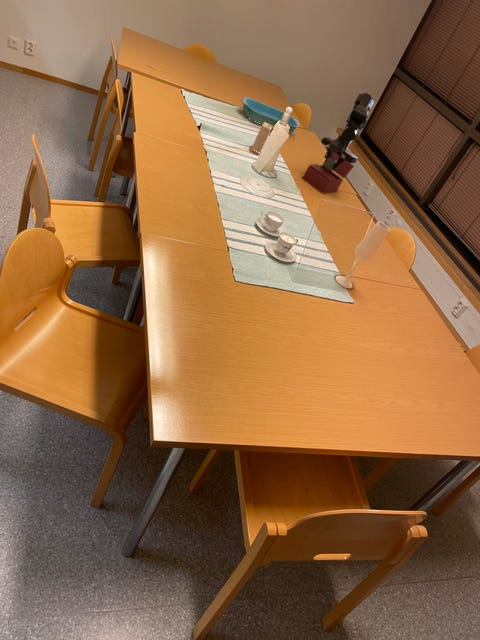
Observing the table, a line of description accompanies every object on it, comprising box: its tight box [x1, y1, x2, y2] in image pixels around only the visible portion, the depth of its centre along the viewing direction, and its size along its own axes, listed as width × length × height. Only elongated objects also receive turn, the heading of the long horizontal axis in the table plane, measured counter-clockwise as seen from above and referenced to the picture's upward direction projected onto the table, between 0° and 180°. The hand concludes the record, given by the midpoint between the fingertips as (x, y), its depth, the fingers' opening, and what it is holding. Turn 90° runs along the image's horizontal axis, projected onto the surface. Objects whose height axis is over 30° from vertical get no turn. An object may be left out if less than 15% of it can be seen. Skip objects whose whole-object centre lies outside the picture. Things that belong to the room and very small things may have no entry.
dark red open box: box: [302, 163, 344, 194], centre depth 232 cm, size 15×13×7 cm
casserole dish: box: [241, 97, 300, 135], centre depth 273 cm, size 37×22×7 cm, turn 103°
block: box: [324, 158, 337, 172], centre depth 228 cm, size 4×4×4 cm
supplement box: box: [250, 122, 273, 155], centre depth 227 cm, size 8×5×13 cm, turn 168°
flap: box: [331, 153, 355, 179], centre depth 234 cm, size 7×13×1 cm
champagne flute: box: [335, 221, 391, 289], centre depth 160 cm, size 7×7×24 cm
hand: (329, 166), depth 229 cm, fingers closed on block, 4 cm apart
